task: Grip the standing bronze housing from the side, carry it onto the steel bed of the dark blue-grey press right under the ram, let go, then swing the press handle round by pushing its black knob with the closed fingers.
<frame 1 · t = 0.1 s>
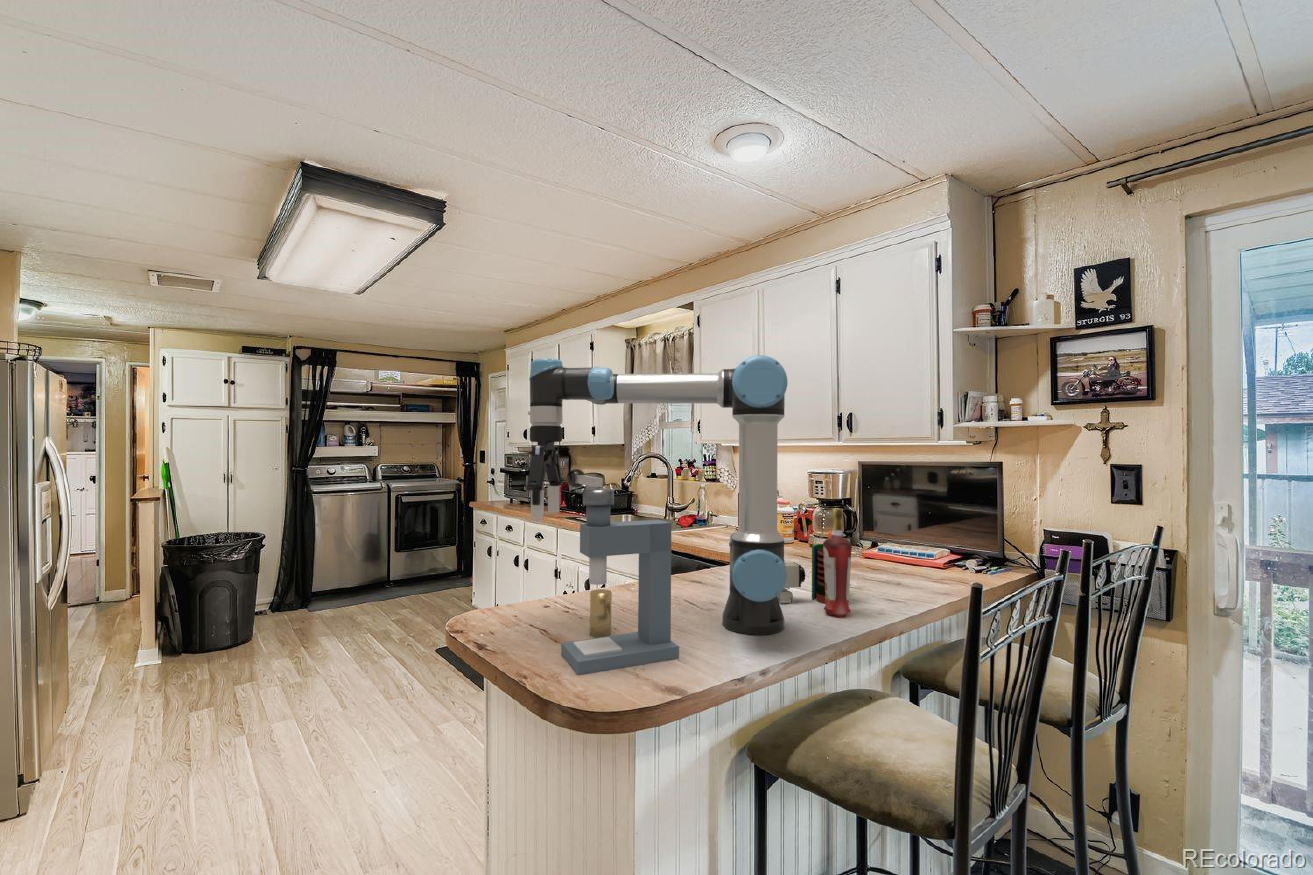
hand: (545, 516, 136), 28 cm above the worktop, tool pointing down, fingers open, 13 cm apart
housing: (600, 634, 137), on the worktop
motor: (830, 601, 169), on the worktop
lever: (587, 485, 128), point 36 cm above the worktop, hinge at 0.0°
press frame: (597, 659, 121), on the worktop
liquor: (837, 615, 155), on the worktop
pneumatic valve: (782, 602, 167), on the worktop
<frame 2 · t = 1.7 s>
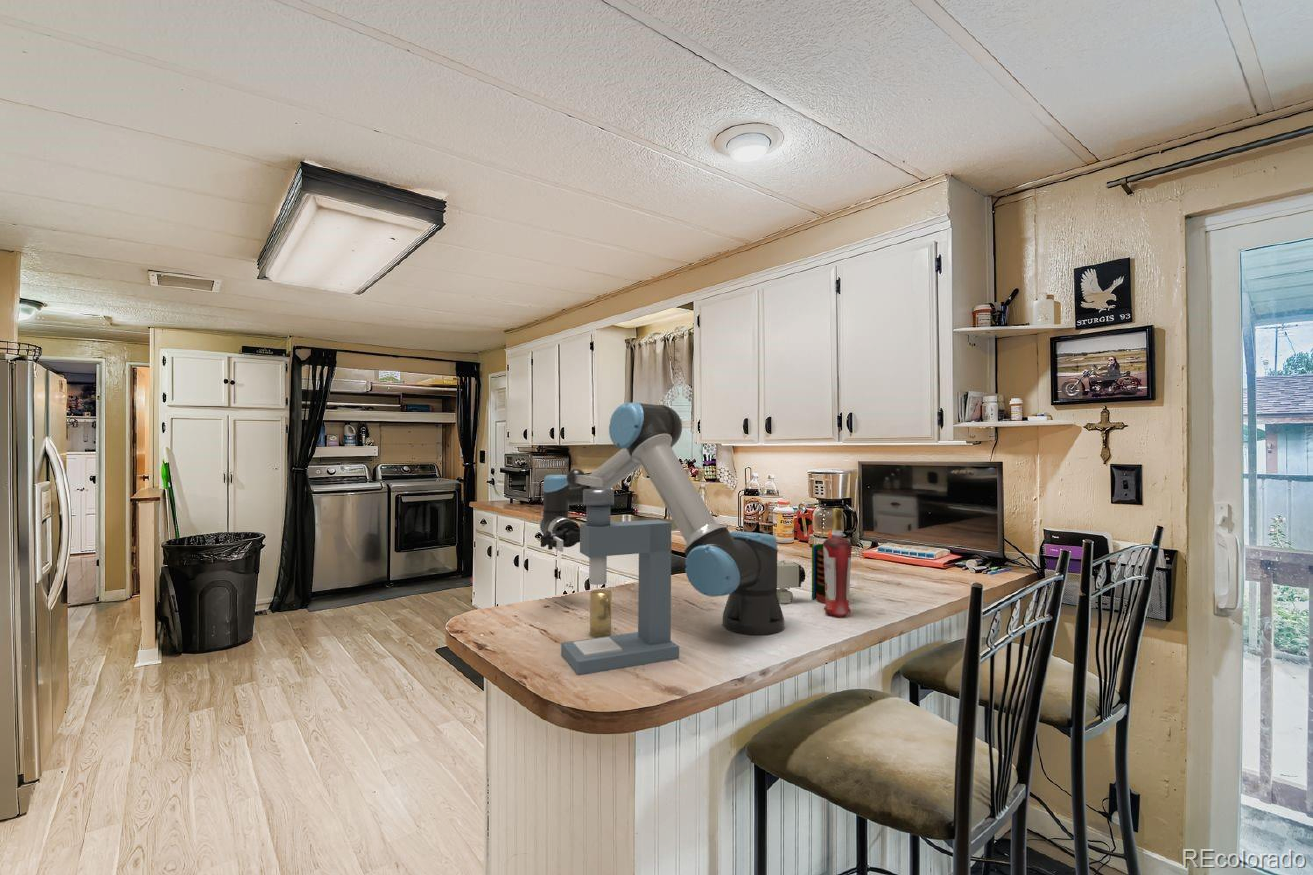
hand: (588, 544, 146), 20 cm above the worktop, tool horizontal, fingers open, 13 cm apart
nothing on the worktop moved.
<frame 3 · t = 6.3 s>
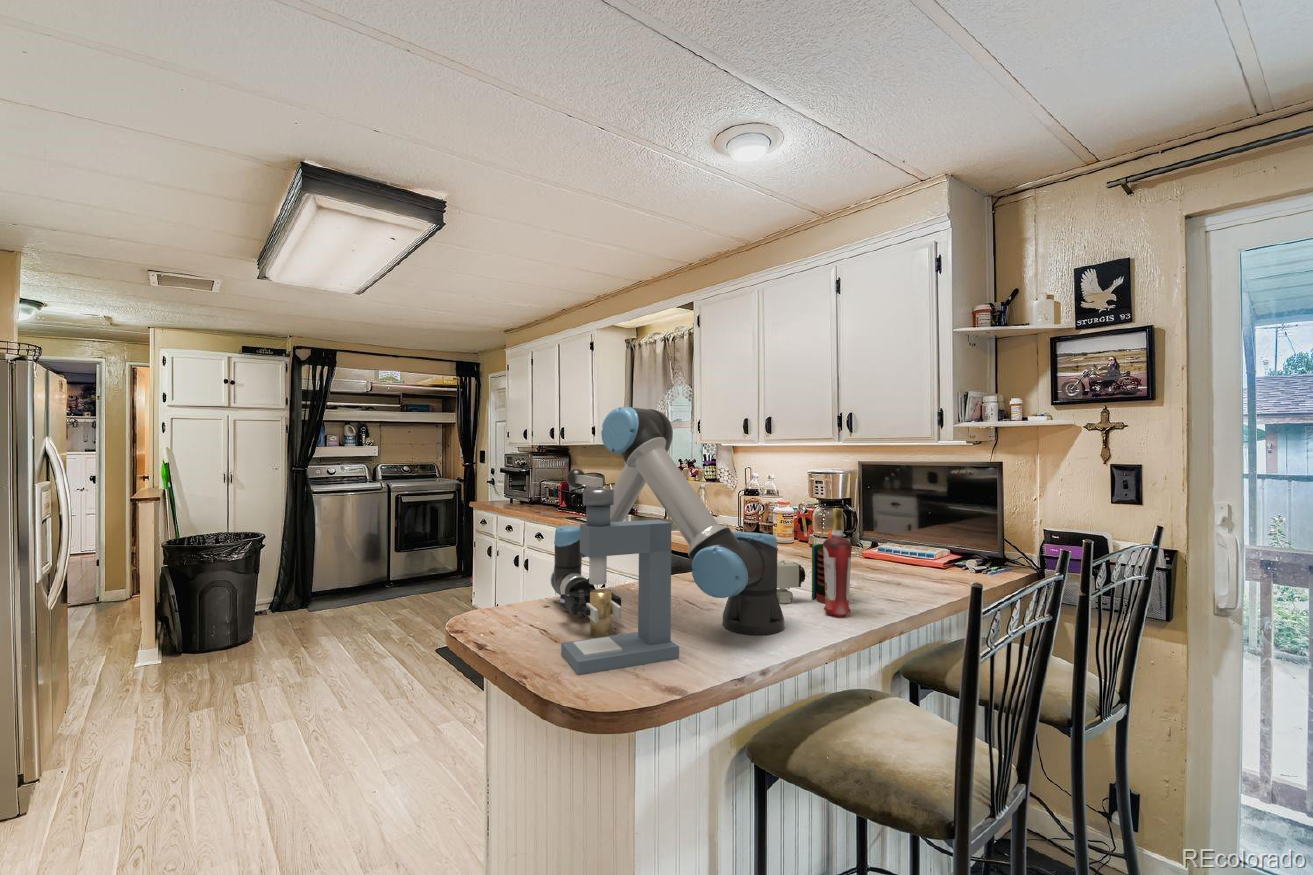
hand: (608, 614, 132), 6 cm above the worktop, tool horizontal, fingers closed on housing, 5 cm apart
housing: (600, 634, 137), on the worktop, touching gripper
everything else where it was.
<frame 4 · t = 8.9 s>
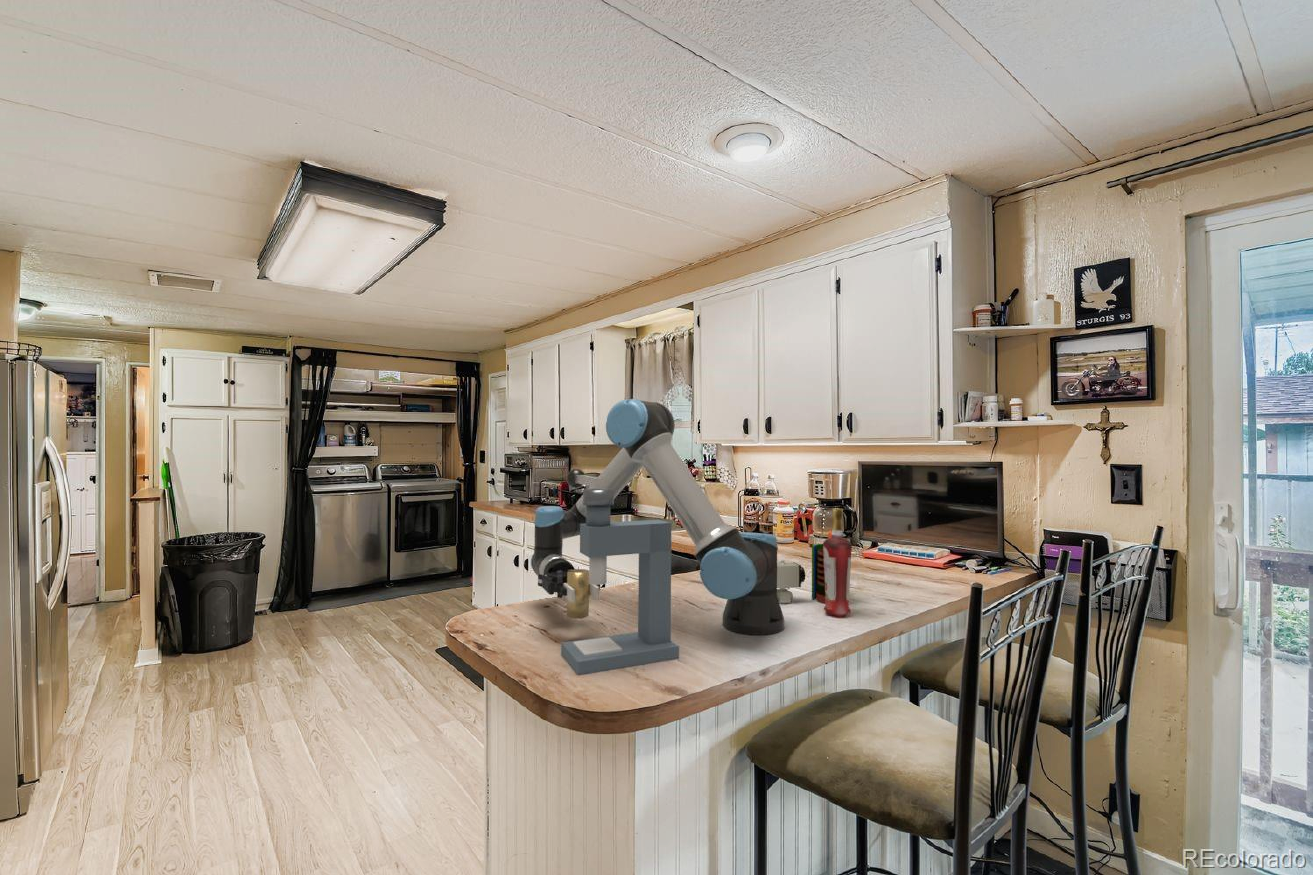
hand: (585, 594, 128), 12 cm above the worktop, tool horizontal, fingers closed on housing, 5 cm apart
housing: (577, 615, 133), point 6 cm above the worktop, touching gripper
everything else where it was.
when the fingers open (10 cm above the worktop, at t = 11.9 s): housing stays where it is, resting on press frame.
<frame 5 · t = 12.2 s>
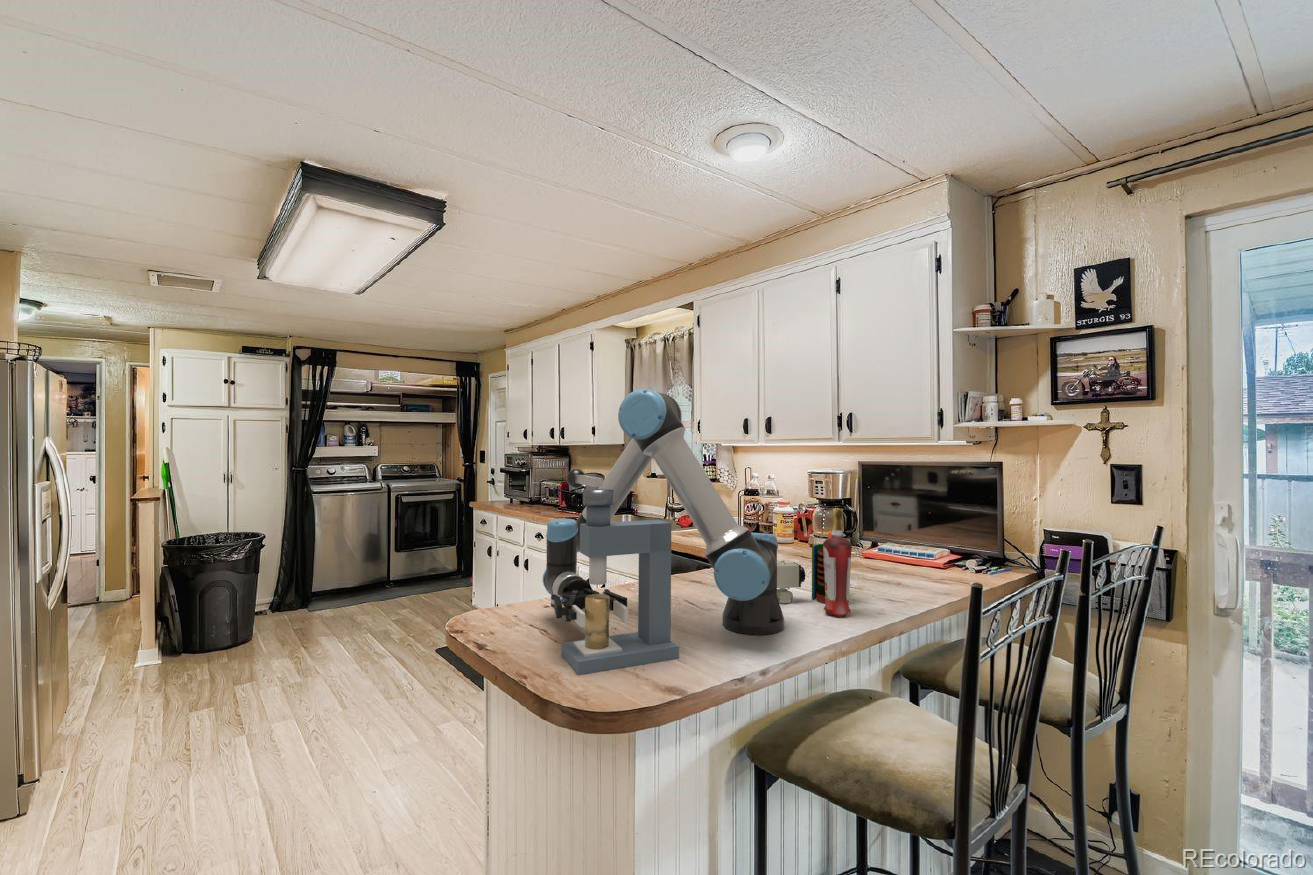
hand: (605, 617, 117), 10 cm above the worktop, tool horizontal, fingers open, 8 cm apart
housing: (596, 645, 121), point 3 cm above the worktop, touching press frame
everything else where it was.
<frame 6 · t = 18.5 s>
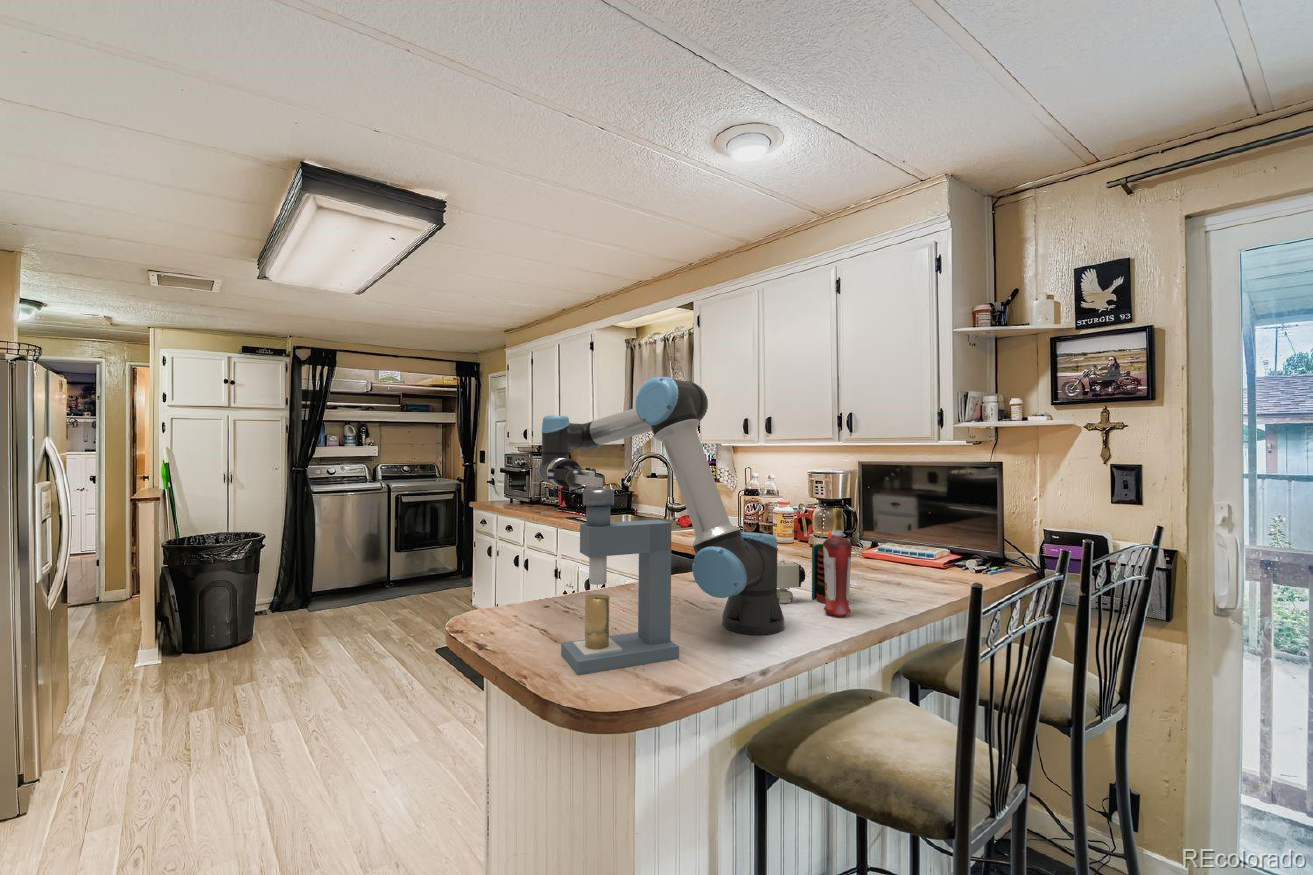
hand: (591, 477, 135), 37 cm above the worktop, tool horizontal, fingers closed
lever: (587, 485, 128), point 36 cm above the worktop, hinge at 0.6°, touching gripper
everything else where it was.
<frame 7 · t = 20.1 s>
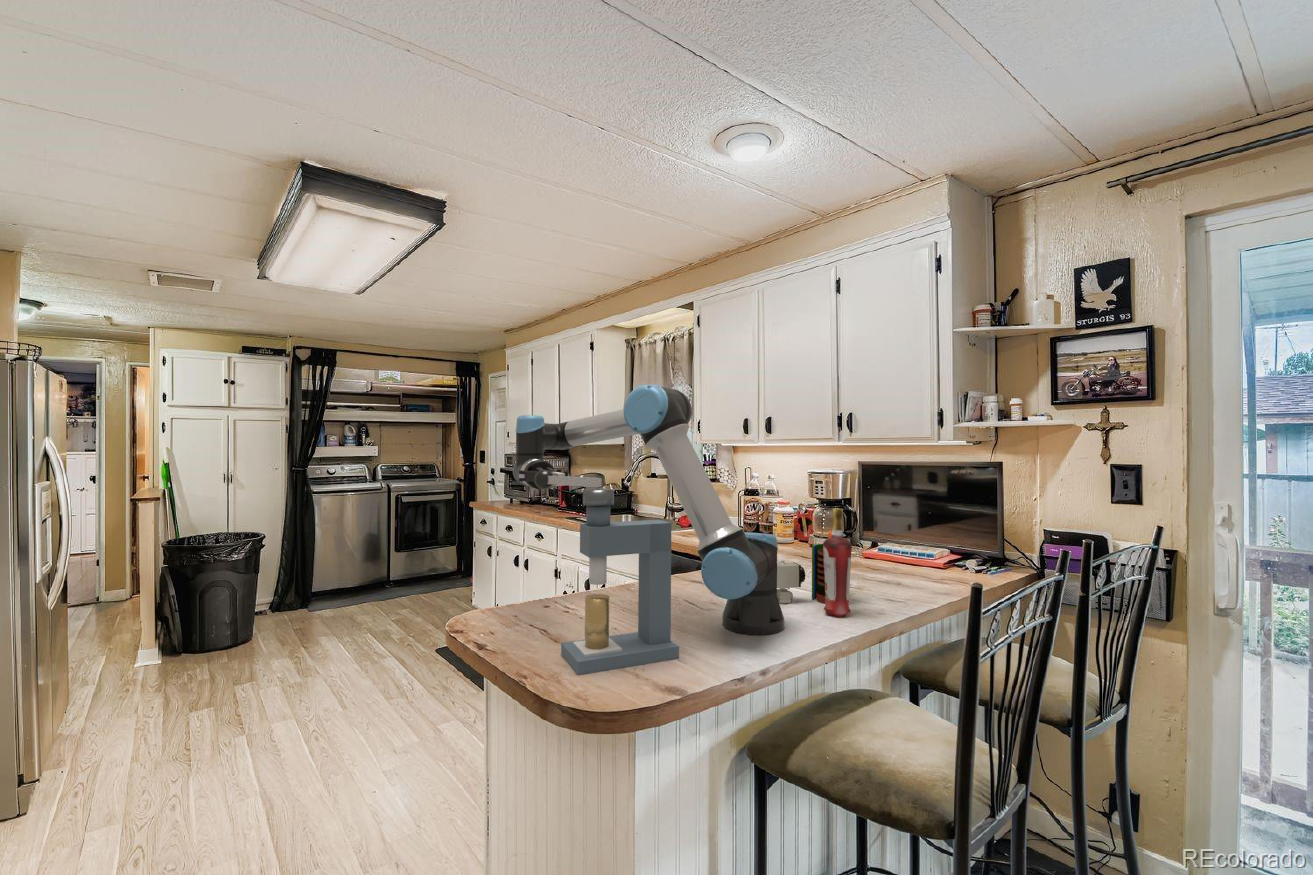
hand: (561, 479, 130), 37 cm above the worktop, tool horizontal, fingers closed
lever: (572, 486, 126), point 36 cm above the worktop, hinge at 30.0°, touching gripper
everything else where it was.
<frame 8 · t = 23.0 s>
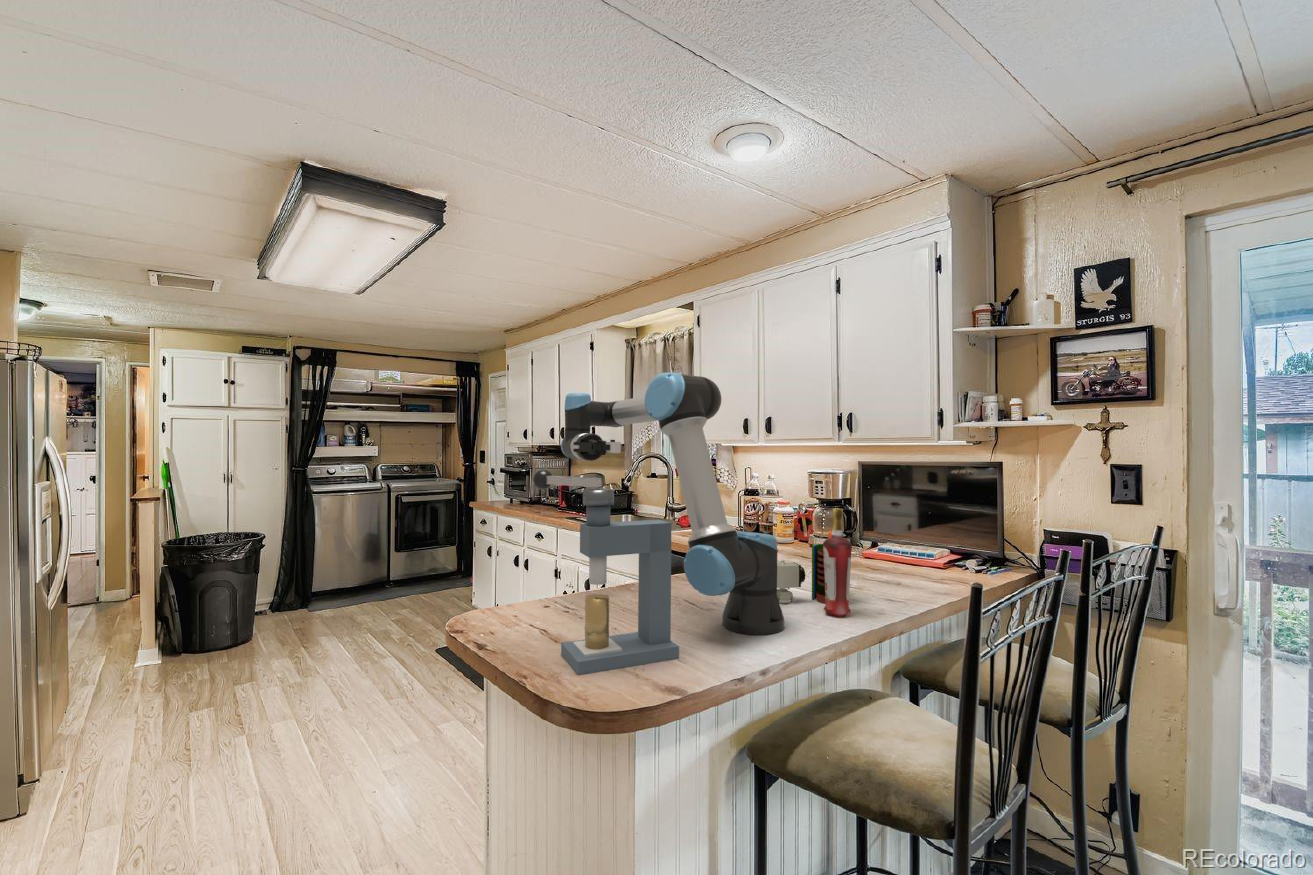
hand: (617, 447, 141), 44 cm above the worktop, tool horizontal, fingers closed
lever: (571, 486, 126), point 36 cm above the worktop, hinge at 31.6°
everything else where it was.
at the end: housing inside the target area on the press frame (0.1 cm from its centre), point 3.0 cm above the press frame's base; housing tilted 0°; lever at +32° (first picture: +0°) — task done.
